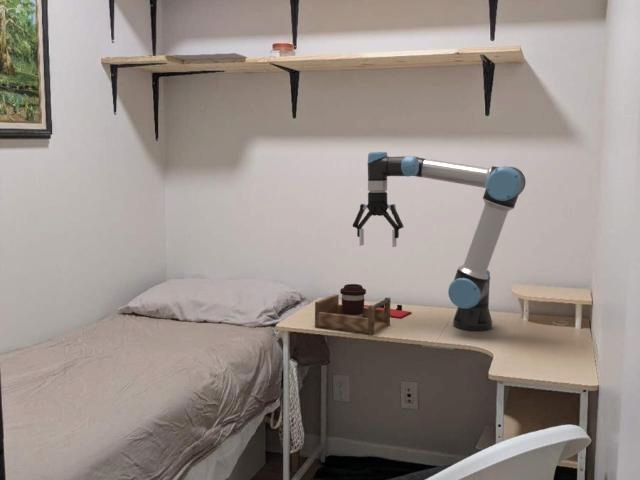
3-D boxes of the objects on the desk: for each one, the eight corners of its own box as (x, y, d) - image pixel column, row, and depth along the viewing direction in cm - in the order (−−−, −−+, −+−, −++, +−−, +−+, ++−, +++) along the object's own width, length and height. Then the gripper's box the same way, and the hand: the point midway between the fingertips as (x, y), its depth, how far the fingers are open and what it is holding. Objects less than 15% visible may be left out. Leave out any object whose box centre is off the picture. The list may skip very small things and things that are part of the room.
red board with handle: (352, 304, 313) (336, 310, 300) (352, 297, 313) (336, 304, 300) (414, 313, 298) (400, 320, 286) (415, 307, 298) (401, 314, 285)
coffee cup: (364, 326, 266) (365, 288, 264) (339, 325, 267) (339, 287, 265) (365, 320, 276) (366, 283, 274) (340, 319, 277) (341, 282, 275)
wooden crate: (389, 325, 274) (390, 297, 273) (372, 335, 258) (372, 306, 257) (334, 318, 285) (335, 291, 284) (314, 327, 269) (315, 299, 268)
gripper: (411, 191, 269) (411, 246, 271) (351, 191, 279) (351, 243, 282) (405, 192, 262) (405, 248, 264) (344, 191, 272) (344, 245, 275)
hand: (377, 246), depth 273 cm, fingers open, 13 cm apart
